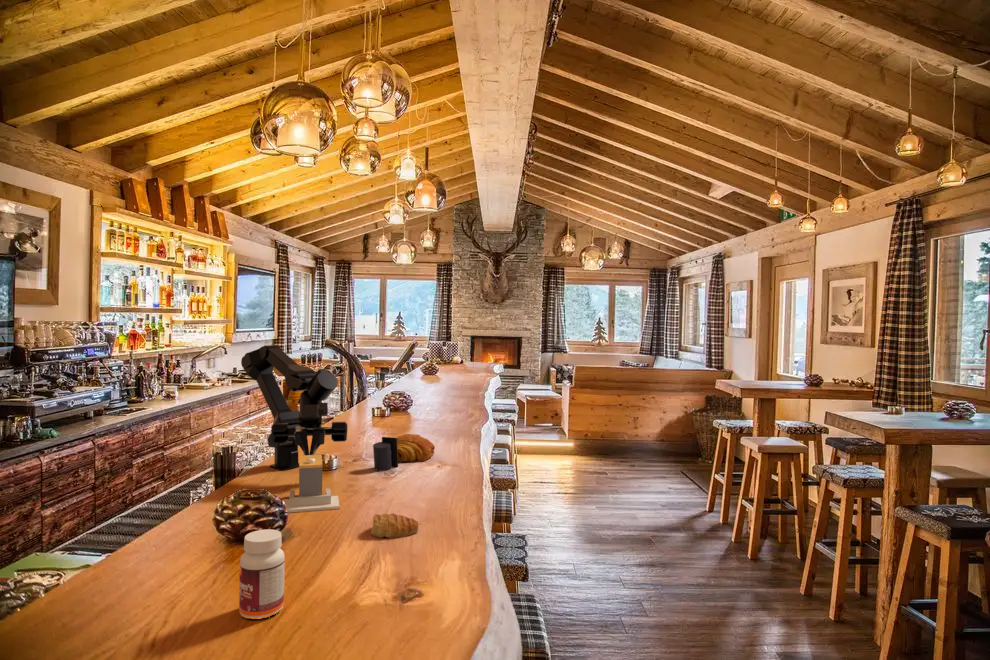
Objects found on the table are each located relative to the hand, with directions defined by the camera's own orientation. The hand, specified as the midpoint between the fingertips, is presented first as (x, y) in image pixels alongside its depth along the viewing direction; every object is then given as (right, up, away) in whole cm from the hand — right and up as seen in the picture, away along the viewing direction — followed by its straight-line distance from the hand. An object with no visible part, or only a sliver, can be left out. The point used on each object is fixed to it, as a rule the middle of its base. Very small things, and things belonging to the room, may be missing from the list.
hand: (309, 461), depth 148 cm
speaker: (+15, -7, +20) cm, 26 cm away
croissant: (+21, -7, +35) cm, 41 cm away
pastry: (+26, -9, -28) cm, 39 cm away
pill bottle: (+12, -9, -61) cm, 63 cm away
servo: (+3, -7, -9) cm, 12 cm away
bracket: (+4, -7, -13) cm, 15 cm away
